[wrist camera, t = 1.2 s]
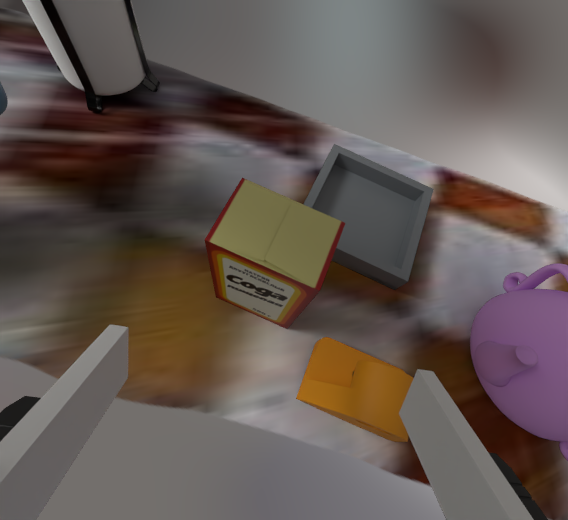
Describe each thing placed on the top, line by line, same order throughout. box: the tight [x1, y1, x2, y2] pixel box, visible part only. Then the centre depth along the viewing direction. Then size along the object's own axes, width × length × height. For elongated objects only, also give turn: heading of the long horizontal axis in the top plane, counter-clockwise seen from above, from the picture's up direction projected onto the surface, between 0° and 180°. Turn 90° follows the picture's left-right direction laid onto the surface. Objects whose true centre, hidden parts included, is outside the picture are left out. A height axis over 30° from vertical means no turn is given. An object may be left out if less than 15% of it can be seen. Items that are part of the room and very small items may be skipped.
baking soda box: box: [205, 178, 345, 329], centre depth 31 cm, size 10×6×16 cm
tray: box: [303, 144, 433, 290], centre depth 43 cm, size 16×16×4 cm
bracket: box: [296, 337, 414, 442], centre depth 30 cm, size 11×7×12 cm, turn 68°
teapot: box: [470, 264, 568, 461], centre depth 33 cm, size 22×22×14 cm
